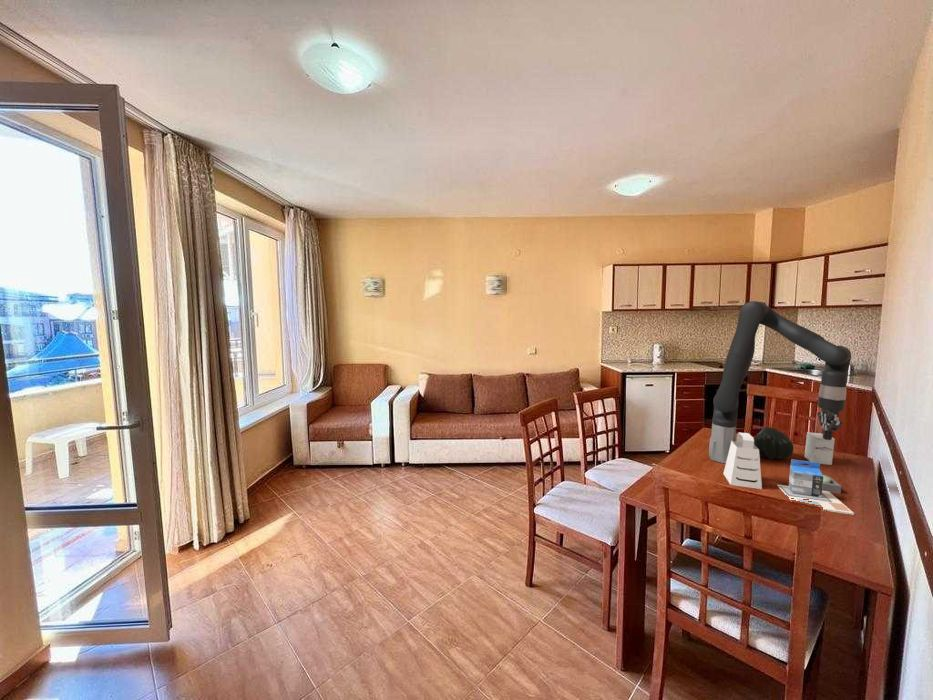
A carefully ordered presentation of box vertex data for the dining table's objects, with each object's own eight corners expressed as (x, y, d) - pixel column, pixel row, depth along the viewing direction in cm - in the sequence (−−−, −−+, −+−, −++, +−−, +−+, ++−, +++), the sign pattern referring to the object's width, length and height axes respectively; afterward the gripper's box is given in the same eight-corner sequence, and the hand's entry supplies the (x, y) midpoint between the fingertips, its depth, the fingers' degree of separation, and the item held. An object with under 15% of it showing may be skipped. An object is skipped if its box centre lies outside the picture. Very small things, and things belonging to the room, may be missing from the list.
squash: (805, 454, 163) (790, 423, 172) (768, 454, 166) (755, 423, 174) (787, 464, 175) (774, 435, 183) (753, 464, 177) (741, 434, 186)
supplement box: (811, 463, 167) (814, 436, 166) (803, 456, 174) (806, 431, 172) (832, 465, 164) (835, 438, 163) (823, 459, 171) (826, 433, 170)
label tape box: (791, 493, 140) (794, 462, 138) (787, 488, 143) (790, 458, 142) (821, 498, 136) (825, 466, 134) (816, 493, 140) (820, 462, 138)
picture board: (796, 506, 132) (796, 504, 132) (777, 485, 147) (777, 484, 147) (854, 514, 126) (854, 513, 126) (828, 492, 141) (828, 491, 141)
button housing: (814, 489, 143) (814, 482, 143) (804, 480, 151) (805, 473, 150) (840, 493, 140) (841, 486, 140) (829, 484, 148) (829, 477, 147)
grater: (752, 477, 154) (756, 432, 152) (761, 489, 144) (766, 441, 142) (723, 473, 158) (726, 429, 156) (730, 484, 148) (734, 437, 146)
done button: (817, 487, 144) (818, 477, 144) (812, 482, 148) (813, 473, 148) (832, 489, 143) (833, 479, 142) (826, 484, 147) (827, 474, 146)
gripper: (811, 392, 149) (806, 432, 151) (828, 400, 137) (823, 443, 139) (835, 393, 146) (830, 434, 148) (854, 401, 134) (849, 446, 136)
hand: (826, 439), depth 144 cm, fingers closed
